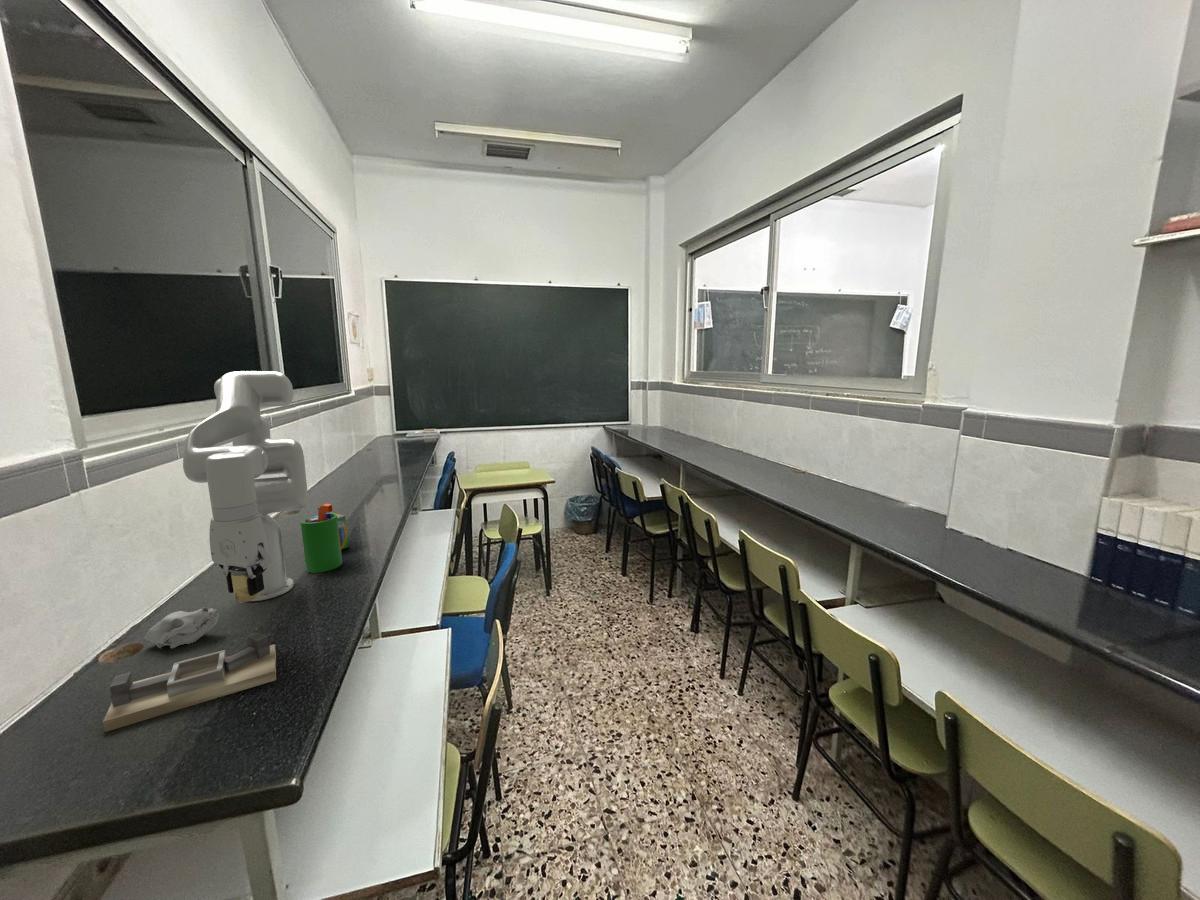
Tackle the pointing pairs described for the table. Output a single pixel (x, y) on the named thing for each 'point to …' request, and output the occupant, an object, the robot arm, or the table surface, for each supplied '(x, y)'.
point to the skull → (182, 627)
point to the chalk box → (341, 527)
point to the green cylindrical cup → (322, 541)
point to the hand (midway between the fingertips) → (246, 590)
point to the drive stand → (191, 683)
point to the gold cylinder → (241, 584)
